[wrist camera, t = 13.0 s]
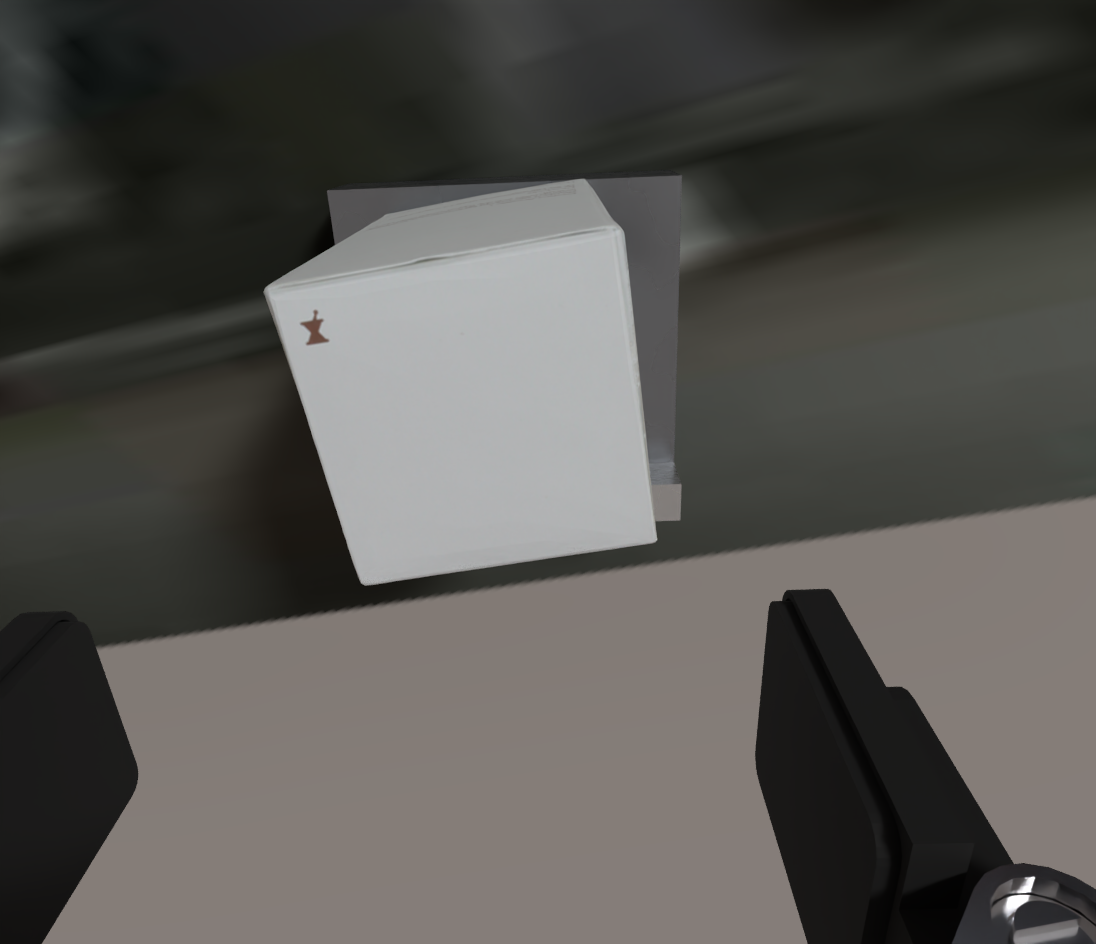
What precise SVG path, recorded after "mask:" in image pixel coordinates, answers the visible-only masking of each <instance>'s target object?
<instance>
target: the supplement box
mask: <svg viewBox="0 0 1096 944" xmlns="http://www.w3.org/2000/svg"><path fill="white" fill-rule="evenodd" d="M264 294H265V297H266V300H267V303H268V306H269V308H270V311H271V314H272V317H273V320H274V323H275V326H276V329H277V331H278V334H279V337H280V340H281V343H282V346H283V349H284V352H285V355H286V358H287V361H288V364H289V366H290V369H291V372H292V375H293V378H294V381H295V384H296V387H297V390H298V393H299V396H300V399H301V402H302V405H303V407H304V410H305V413H306V417H307V420H308V423H309V426H310V430H311V433H312V436H313V439H314V442H315V445H316V448H317V451H318V455H319V458H320V461H321V464H322V467H323V470H324V474H325V477H326V480H327V483H328V486H329V489H330V492H331V495H332V498H333V501H334V505H335V508H336V511H337V514H338V517H339V520H340V523H341V526H342V530H343V533H344V536H345V539H346V542H347V545H348V549H349V552H350V554H351V557H352V561H353V564H354V567H355V569H356V572H357V575H358V578H359V580H360V582H361V584H363V585H365V586H367V585H376V584H382V583H388V582H393V581H400V580H407V579H414V578H420V577H426V576H433V575H440V574H447V573H454V572H461V571H468V570H474V569H481V568H488V567H494V566H501V565H508V564H514V563H521V562H528V561H534V560H541V559H547V558H554V557H561V556H568V555H575V554H582V553H589V552H596V551H603V550H610V549H616V548H623V547H629V546H636V545H644V544H652V543H654V542H656V541H657V536H656V526H655V516H654V507H653V497H652V488H651V478H650V469H649V459H648V450H647V440H646V431H645V421H644V412H643V402H642V393H641V383H640V374H639V364H638V354H637V345H636V335H635V326H634V317H633V307H632V298H631V288H630V279H629V270H628V261H627V252H626V244H625V235H624V231H623V230H622V228H621V227H620V226H619V225H618V224H617V223H616V222H615V221H614V220H613V219H612V218H611V216H610V215H609V214H608V212H607V210H606V209H605V207H604V205H603V204H602V202H601V201H600V199H599V198H598V196H597V194H596V193H595V191H594V190H593V188H592V187H591V186H590V185H589V184H588V182H587V181H586V180H585V179H576V180H569V181H563V182H556V183H550V184H544V185H538V186H532V187H527V188H521V189H515V190H509V191H503V192H497V193H491V194H485V195H480V196H475V197H470V198H465V199H460V200H455V201H450V202H445V203H440V204H435V205H430V206H425V207H420V208H415V209H410V210H405V211H401V212H396V213H390V214H386V215H384V216H383V217H382V218H380V219H378V220H377V221H375V222H373V223H371V224H369V225H368V226H366V227H365V228H363V229H362V230H360V231H358V232H356V233H355V234H353V235H351V236H350V237H348V238H346V239H345V240H343V241H341V242H340V243H338V244H336V245H335V246H333V247H331V248H330V249H328V250H326V251H325V252H323V253H321V254H319V255H318V256H316V257H315V258H313V259H311V260H310V261H308V262H306V263H305V264H303V265H301V266H299V267H298V268H296V269H294V270H293V271H291V272H289V273H288V274H286V275H284V276H283V277H281V278H279V279H278V280H276V281H275V282H273V283H271V284H270V285H268V286H267V287H266V288H265V290H264Z"/></svg>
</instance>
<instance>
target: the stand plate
mask: <svg viewBox="0 0 1096 944" xmlns="http://www.w3.org/2000/svg"><path fill="white" fill-rule="evenodd" d="M576 179H585V180H586V181H587V182H588V184H589V185H590V186H591V187H592V188H593V190H594V191H595V193H596V194H597V196H598V198H599V199H600V201H601V202H602V204H603V205H604V207H605V209H606V210H607V212H608V214H609V215H610V216H611V218H612V219H613V220H614V221H615V222H616V223H617V224H618V225H619V226H620V227H621V228H622V230H623V231H624V235H625V244H626V252H627V261H628V270H629V279H630V288H631V298H632V307H633V317H634V326H635V335H636V345H637V354H638V364H639V374H640V383H641V393H642V402H643V412H644V421H645V431H646V440H647V450H648V459H649V469H650V478H651V488H652V497H653V507H654V516H655V521H674V520H680V512H681V481H680V479H679V476H678V473H677V470H676V467H675V464H674V444H675V407H676V370H677V334H678V297H679V260H680V223H681V186H682V175H680V174H678V173H675V172H673V171H671V170H660V171H637V172H614V173H590V174H567V175H543V176H520V177H497V178H473V179H450V180H427V181H403V182H380V183H357V184H346V185H343V186H340V187H337V188H334V189H330V190H327V194H328V200H329V207H330V214H331V221H332V228H333V234H334V241H335V245H336V244H338V243H340V242H341V241H343V240H345V239H346V238H348V237H350V236H351V235H353V234H355V233H356V232H358V231H360V230H362V229H363V228H365V227H366V226H368V225H369V224H371V223H373V222H375V221H377V220H378V219H380V218H382V217H383V216H384V215H386V214H390V213H396V212H401V211H405V210H410V209H415V208H420V207H425V206H430V205H435V204H440V203H445V202H450V201H455V200H460V199H465V198H470V197H475V196H480V195H485V194H491V193H497V192H503V191H509V190H515V189H521V188H527V187H532V186H538V185H544V184H550V183H556V182H563V181H569V180H576Z"/></svg>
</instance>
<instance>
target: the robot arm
mask: <svg viewBox="0 0 1096 944" xmlns="http://www.w3.org/2000/svg"><path fill="white" fill-rule="evenodd" d="M755 757H756V758H755V759H756V770H757V775H758V779H759V783H760V786H761V790H762V793H763V796H764V800H765V803H766V806H767V809H768V813H769V816H770V820H771V823H772V826H773V830H774V833H775V836H776V840H777V843H778V846H779V849H780V853H781V856H782V859H783V863H784V866H785V869H786V873H787V876H788V880H789V883H790V886H791V889H792V893H793V896H794V899H795V903H796V906H797V910H798V913H799V916H800V919H801V923H802V926H803V930H804V933H805V936H806V940H807V943H808V944H1096V889H1094V888H1093V887H1091V886H1089V885H1088V884H1086V883H1084V882H1082V881H1081V880H1079V879H1077V878H1075V877H1073V876H1070V875H1068V874H1065V873H1062V872H1060V871H1057V870H1054V869H1052V868H1049V867H1043V866H1037V865H1031V864H1025V863H1021V864H1014V863H1013V862H1012V860H1011V858H1010V857H1009V855H1008V853H1007V852H1006V850H1005V848H1004V847H1003V845H1002V843H1001V842H1000V840H999V839H998V837H997V835H996V833H995V832H994V830H993V829H992V827H991V825H990V824H989V822H988V820H987V819H986V817H985V815H984V814H983V812H982V810H981V809H980V807H979V805H978V804H977V802H976V800H975V799H974V797H973V795H972V794H971V792H970V790H969V789H968V787H967V786H966V784H965V782H964V780H963V779H962V777H961V775H960V774H959V772H958V771H957V769H956V767H955V766H954V764H953V762H952V761H951V759H950V757H949V756H948V754H947V752H946V751H945V749H944V747H943V746H942V744H941V742H940V741H939V739H938V737H937V736H936V734H935V733H934V731H933V729H932V727H931V726H930V724H929V723H928V721H927V719H926V717H925V716H924V714H923V713H922V711H921V709H920V708H919V706H918V704H917V703H916V701H915V699H914V698H913V697H912V695H911V694H910V693H909V692H908V691H907V690H906V689H904V688H902V687H886V686H885V684H884V682H883V680H882V679H881V677H880V675H879V674H878V671H877V670H876V668H875V666H874V665H873V663H872V661H871V659H870V657H869V656H868V654H867V652H866V650H865V649H864V647H863V645H862V643H861V642H860V640H859V638H858V636H857V634H856V633H855V631H854V629H853V627H852V626H851V624H850V622H849V621H848V619H847V617H846V615H845V613H844V612H843V610H842V608H841V606H840V605H839V603H838V601H837V599H836V597H835V596H834V594H833V593H832V592H831V590H829V589H812V590H811V589H809V590H787V591H786V592H785V593H784V595H783V599H782V601H772V602H771V603H770V606H769V612H768V622H767V633H766V643H765V654H764V665H763V676H762V686H761V697H760V707H759V719H758V729H757V740H756V751H755ZM137 780H138V768H137V763H136V761H135V758H134V755H133V752H132V749H131V746H130V744H129V741H128V738H127V735H126V732H125V729H124V727H123V724H122V721H121V718H120V715H119V712H118V710H117V707H116V704H115V701H114V698H113V695H112V692H111V689H110V687H109V684H108V681H107V678H106V675H105V672H104V670H103V667H102V664H101V661H100V658H99V655H98V652H97V650H96V647H95V644H94V641H93V638H92V635H91V632H90V630H89V628H88V626H87V625H86V624H85V623H83V622H78V620H77V618H76V617H75V616H74V615H73V614H72V613H69V612H66V611H60V612H27V613H23V614H20V615H18V616H17V617H16V618H14V619H13V620H12V621H11V622H10V623H9V624H8V625H7V626H6V627H5V628H4V629H3V630H1V631H0V944H42V942H43V941H44V939H45V938H46V936H47V934H48V933H49V931H50V929H51V928H52V926H53V924H54V923H55V921H56V919H57V918H58V916H59V915H60V913H61V911H62V910H63V908H64V907H65V905H66V903H67V902H68V900H69V898H70V897H71V895H72V893H73V892H74V890H75V889H76V887H77V885H78V884H79V882H80V880H81V879H82V877H83V875H84V874H85V872H86V871H87V869H88V867H89V866H90V864H91V862H92V860H93V859H94V858H95V856H96V854H97V852H98V851H99V849H100V848H101V846H102V844H103V843H104V841H105V840H106V838H107V836H108V835H109V833H110V831H111V830H112V828H113V826H114V825H115V823H116V822H117V820H118V818H119V817H120V815H121V813H122V812H123V810H124V809H125V807H126V805H127V804H128V802H129V800H130V799H131V797H132V795H133V793H134V791H135V788H136V785H137Z"/></svg>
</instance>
